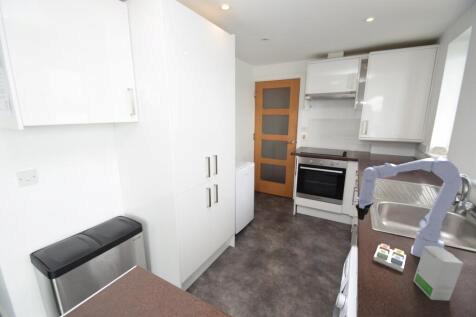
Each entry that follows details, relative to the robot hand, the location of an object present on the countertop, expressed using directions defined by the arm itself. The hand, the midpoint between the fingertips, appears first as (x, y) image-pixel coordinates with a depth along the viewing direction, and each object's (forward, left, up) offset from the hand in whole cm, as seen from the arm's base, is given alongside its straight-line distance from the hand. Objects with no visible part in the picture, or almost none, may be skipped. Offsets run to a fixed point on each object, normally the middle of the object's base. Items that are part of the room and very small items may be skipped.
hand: (362, 216), depth 106 cm
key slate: (-17, +15, -8) cm, 24 cm away
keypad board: (-14, +13, -10) cm, 21 cm away
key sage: (-12, +15, -8) cm, 21 cm away
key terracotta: (-12, +10, -8) cm, 17 cm away
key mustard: (-17, +10, -8) cm, 21 cm away
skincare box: (-28, +22, -10) cm, 37 cm away
